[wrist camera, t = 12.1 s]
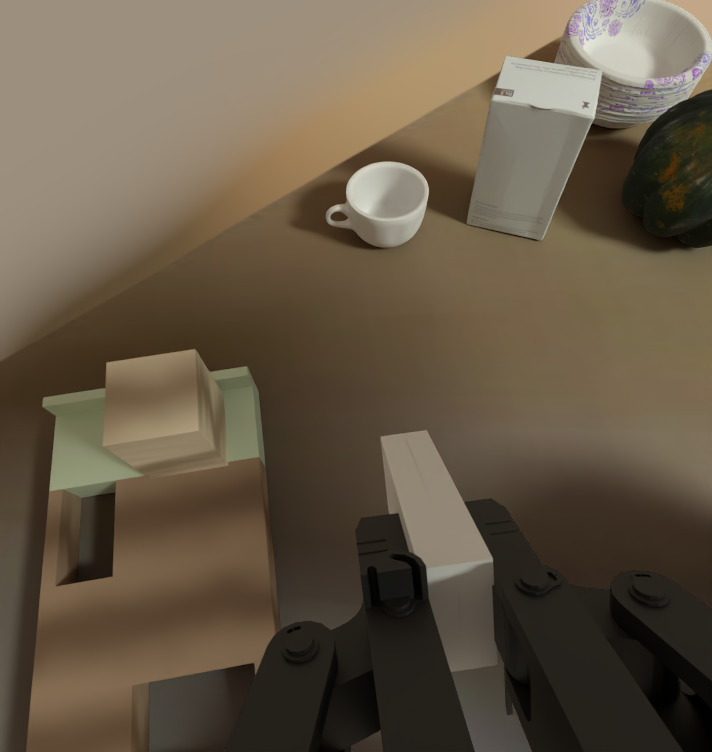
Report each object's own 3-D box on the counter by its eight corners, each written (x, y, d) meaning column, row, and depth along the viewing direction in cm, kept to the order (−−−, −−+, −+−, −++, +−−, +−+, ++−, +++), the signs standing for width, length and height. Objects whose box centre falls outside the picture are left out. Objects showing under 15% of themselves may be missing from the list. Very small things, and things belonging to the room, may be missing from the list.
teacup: (411, 195, 56) (416, 154, 51) (432, 250, 53) (439, 212, 48) (320, 212, 55) (316, 172, 50) (335, 269, 52) (332, 233, 47)
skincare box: (550, 203, 55) (610, 67, 42) (541, 245, 53) (601, 116, 39) (473, 185, 57) (507, 48, 43) (460, 226, 54) (491, 94, 41)
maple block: (228, 465, 40) (198, 430, 33) (150, 478, 40) (102, 446, 33) (223, 395, 43) (195, 348, 36) (150, 407, 43) (106, 362, 35)
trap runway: (294, 775, 34) (288, 788, 32) (45, 824, 33) (17, 842, 31) (265, 467, 43) (259, 456, 41) (69, 499, 42) (49, 491, 40)
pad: (265, 467, 43) (254, 448, 39) (69, 499, 42) (34, 484, 38) (258, 391, 46) (247, 366, 42) (75, 420, 45) (43, 397, 41)
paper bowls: (644, 166, 57) (684, 101, 50) (521, 112, 62) (541, 45, 54) (694, 91, 63) (737, 22, 56) (578, 46, 67) (604, -24, 60)
